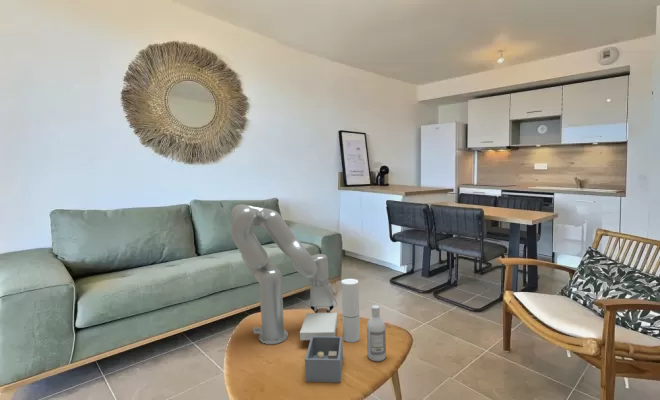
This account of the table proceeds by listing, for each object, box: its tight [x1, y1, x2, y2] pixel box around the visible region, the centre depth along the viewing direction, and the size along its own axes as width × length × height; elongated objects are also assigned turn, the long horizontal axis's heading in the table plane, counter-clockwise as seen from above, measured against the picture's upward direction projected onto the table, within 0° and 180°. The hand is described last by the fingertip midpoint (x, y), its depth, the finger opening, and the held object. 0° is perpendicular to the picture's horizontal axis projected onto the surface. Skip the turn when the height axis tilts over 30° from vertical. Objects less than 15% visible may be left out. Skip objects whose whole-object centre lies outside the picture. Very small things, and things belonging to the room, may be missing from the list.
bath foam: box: [366, 304, 387, 362], centre depth 129 cm, size 7×7×20 cm
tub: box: [304, 336, 344, 383], centre depth 124 cm, size 16×12×8 cm
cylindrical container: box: [340, 278, 361, 344], centre depth 144 cm, size 7×7×25 cm
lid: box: [299, 307, 338, 341], centre depth 149 cm, size 23×14×3 cm, turn 175°
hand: (323, 318), depth 158 cm, fingers closed on lid, 4 cm apart
